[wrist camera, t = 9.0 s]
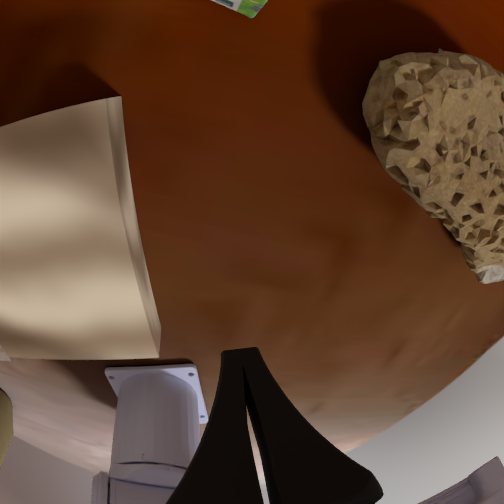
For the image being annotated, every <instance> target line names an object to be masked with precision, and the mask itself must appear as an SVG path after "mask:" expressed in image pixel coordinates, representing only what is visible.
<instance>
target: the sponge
mask: <svg viewBox="0 0 504 504" xmlns="http://www.w3.org/2000/svg"><path fill="white" fill-rule="evenodd" d="M362 108H363V116H364V119H365V121H366V124H367V127H368V129H369V131H370V132H371V142H372V146H373V149H374V151H375V153H376V155H377V157H378V159H379V161H380V163H381V165H382V167H383V169H384V170H385V171H386V172H387V173H388V174H389V175H390V176H391V177H392V178H393V179H395V180H396V181H397V182H399V183H400V184H402V187H401V189H402V190H404V191H405V192H406V193H407V194H409V195H410V196H411V197H412V198H413V199H414V200H415V201H416V202H417V204H419V205H420V206H421V207H422V208H424V209H425V211H426V212H427V214H428V215H429V216H430V217H432V218H440V219H441V220H442V221H443V223H442V224H443V225H444V226H445V227H446V228H447V229H448V230H449V231H450V232H451V233H452V235H453V236H454V238H455V239H456V240H457V241H460V243H461V246H462V252H463V256H464V259H465V260H466V261H467V262H466V263H467V264H468V266H469V267H470V269H471V270H472V271H474V272H475V273H476V278H477V280H478V282H481V283H484V284H486V283H492V282H499V281H502V280H504V75H503V74H502V72H500V71H498V70H496V69H494V68H492V67H491V66H490V65H489V64H488V63H487V62H485V61H484V60H482V59H480V58H477V57H474V56H472V55H467V54H461V53H455V52H448V51H443V50H441V49H440V48H439V51H438V53H413V52H408V53H403V54H399V55H395V56H393V57H392V58H391V59H386V60H382V61H380V62H379V65H378V67H377V69H376V71H375V73H374V74H373V76H372V78H371V79H370V82H369V85H368V88H367V91H366V94H365V97H364V100H363V102H362Z"/></svg>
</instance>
